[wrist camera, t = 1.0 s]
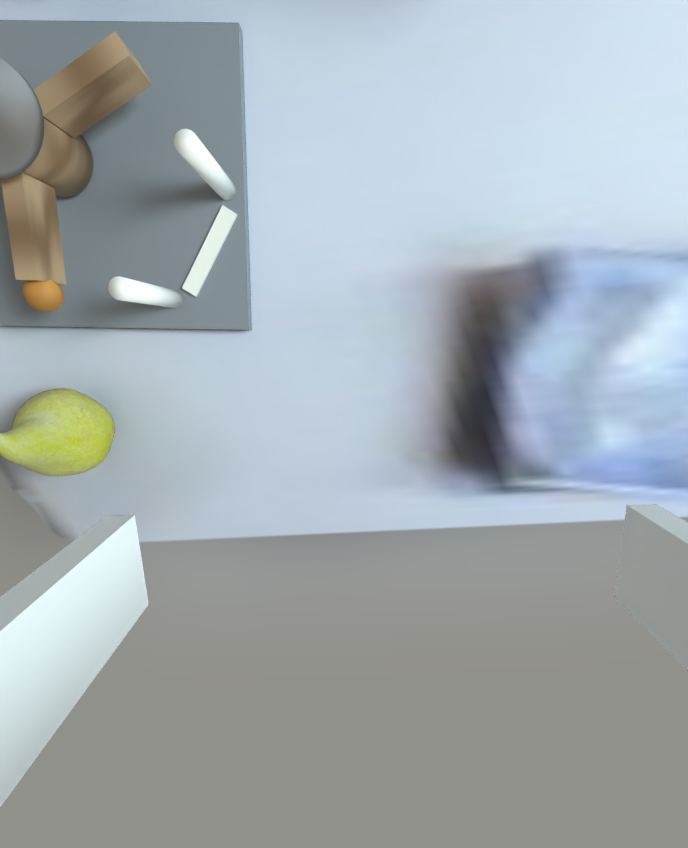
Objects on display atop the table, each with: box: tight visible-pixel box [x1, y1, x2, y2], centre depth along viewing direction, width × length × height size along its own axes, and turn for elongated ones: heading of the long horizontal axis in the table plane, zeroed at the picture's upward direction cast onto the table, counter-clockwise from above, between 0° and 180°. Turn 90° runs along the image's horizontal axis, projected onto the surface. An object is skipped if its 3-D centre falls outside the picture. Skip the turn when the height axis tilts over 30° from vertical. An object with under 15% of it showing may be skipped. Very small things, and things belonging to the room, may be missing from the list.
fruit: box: [0, 389, 115, 476], centre depth 30 cm, size 7×8×12 cm
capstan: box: [0, 32, 152, 312], centre depth 28 cm, size 16×16×7 cm
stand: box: [0, 20, 252, 330], centre depth 28 cm, size 21×21×9 cm
